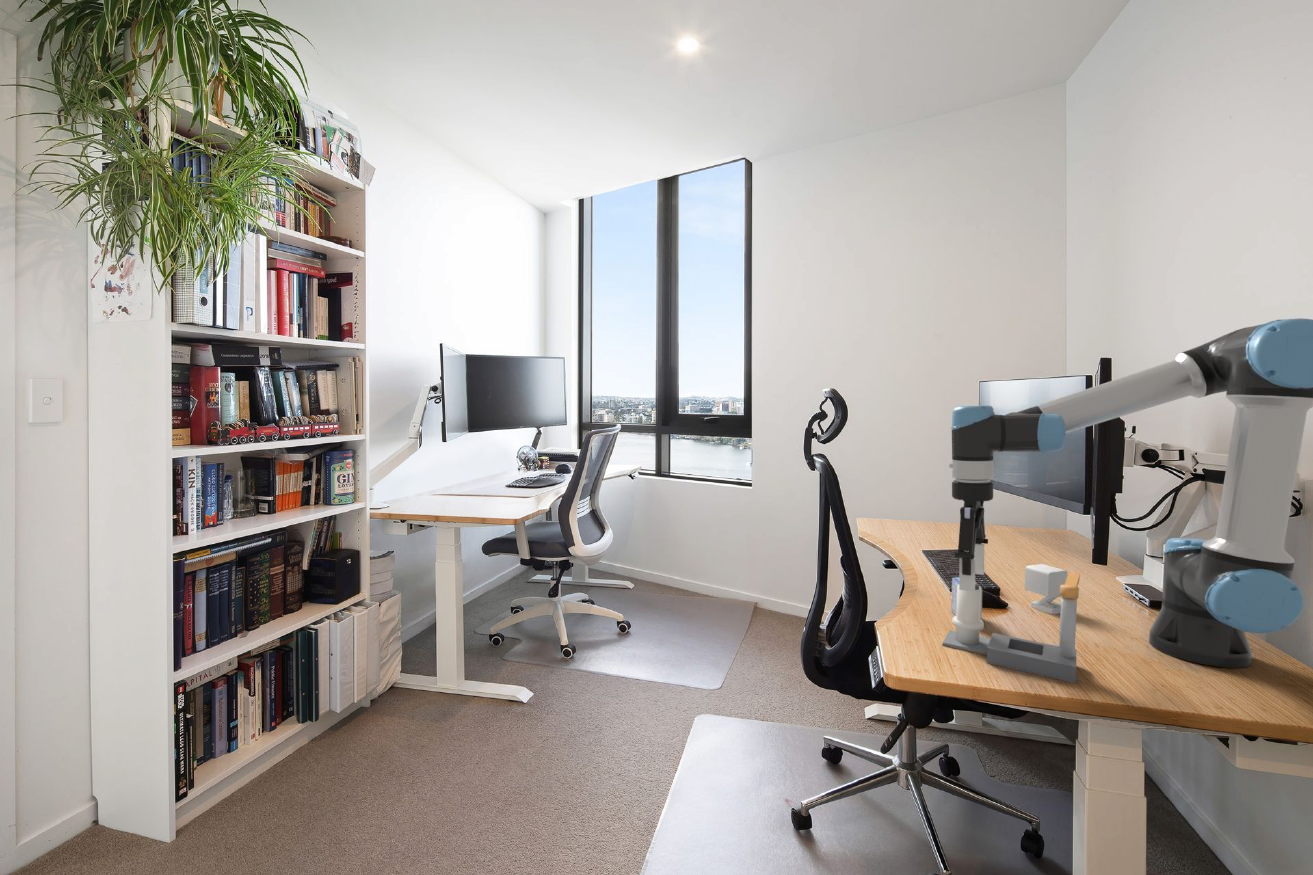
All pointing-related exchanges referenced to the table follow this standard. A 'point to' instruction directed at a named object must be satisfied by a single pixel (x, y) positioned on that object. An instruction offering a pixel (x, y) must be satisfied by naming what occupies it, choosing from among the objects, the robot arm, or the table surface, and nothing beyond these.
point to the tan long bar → (1070, 586)
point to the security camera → (1045, 586)
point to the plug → (968, 616)
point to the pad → (978, 648)
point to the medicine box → (954, 596)
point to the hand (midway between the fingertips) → (972, 581)
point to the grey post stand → (1040, 650)
